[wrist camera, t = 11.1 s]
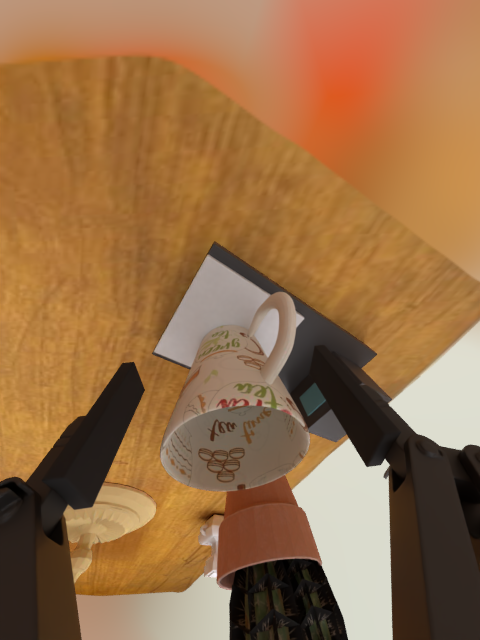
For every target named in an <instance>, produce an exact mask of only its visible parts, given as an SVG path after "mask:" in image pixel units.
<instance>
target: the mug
mask: <svg viewBox="0 0 480 640" xmlns="http://www.w3.org/2000/svg"><path fill="white" fill-rule="evenodd" d="M272 309H277V311H278V313H279V331H278V336H277V340H276V344H275V346H274V348H273V350H272V352H271V354H270V356H269V357H267V356H266V354H265V352H264V350H263V349H262V347H261V345H260V344H259V342H258V340H257V339H256V337H255V336H254V334H255V332H256V330H257V329H258V327H259V325H260V324H261V322H262V320H263V319H264V317H265V316H266V315H267V313H268V312H269V311H270V310H272ZM295 334H296V311H295V306H294V302H293V300H292V298H291V297H290V296H289V295H288V294H287V293H285V292H276V293H274V294H272V295H270V296H269V297H268V298H267V299H266V300H265V301H264V302H263V304H262V305H261V306H260V307H259V308H258V309H257V311H256V313H255V315H254V318H253V320H252V323H251V325H250V328H249V330H248V329H246V328H244V327H241V326H237V325H223V326H220V327H217V328H215V329H213V330H211V331H210V332H209V333H208V334H207V335H206V336H205V337H204V339H203V340H202V342H201V345H200V347H199V349H198V352H197V354H196V357H195V359H194V362H193V364H192V367H191V369H190V371H189V374H188V376H187V379H186V381H185V384H184V386H183V389H182V391H181V394H180V396H179V399H178V401H177V403H176V406H175V408H174V411H173V413H172V416H171V418H170V421H169V423H168V426H167V428H166V431H165V434H164V437H163V440H162V444H161V449H160V458H161V462H162V465H163V467H164V468H165V470H166V471H167V472H168V474H169V475H170V476H172V477H173V478H174V479H176V480H177V481H179V482H181V483H183V484H185V485H187V486H190V487H193V488H197V489H202V490H208V491H237V490H244V489H249V488H254V487H258V486H261V485H264V484H267V483H269V482H272V481H274V480H276V479H278V478H280V477H282V476H284V475H285V474H287V473H289V472H290V471H291V470H293V469H294V468H295V467H296V466H297V465H298V464H299V463H300V462H301V461H302V459H303V458H304V456H305V455H306V453H307V451H308V448H309V444H310V435H309V430H308V428H307V425H306V423H305V421H304V419H303V417H302V415H301V413H300V411H299V410H298V408H297V406H296V404H295V403H294V401H293V399H292V398H291V396H290V394H289V393H288V391H287V389H286V388H285V386H284V384H283V383H282V381H281V379H280V377H279V376H278V374H279V373H280V371H281V369H282V368H283V366H284V364H285V363H286V361H287V359H288V357H289V355H290V353H291V351H292V348H293V345H294V340H295Z"/></svg>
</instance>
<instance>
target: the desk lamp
mask: <svg viewBox="0 0 480 640" xmlns="http://www.w3.org/2000/svg"><path fill="white" fill-rule="evenodd" d="M155 512H156V503H155V501H154V500H153V498H152V497H150V496H149V495H148V494H146V493H145V492H143V491H140V490H137V489H135V488H132V487H128V486H124V485H120V484H114V483H105V482H103V485H102V487H101V489H100V491H99V494H98V496H97V498H96V500H95V503H94V505H93V507H91V508H84V509H78V510H74V509H73V508H72V507H70V506H69V505H68V506H67V508H66V510H65V512H64V513H63V514H64V516H65V518H66V526H67V534H68V541H71V542H72V543H75V542H78V545H77V547H76V549H75V550H74V551H72V552H70V556H71V564H72V571H73V579H74V583H75V582H76V580H77V579H78V577H79V576H80V574H82V573H83V572H85V571H86V570H87V568H88V567H89V565H90V564H91V562H92V550H90V549H91V546H92V544H96V543H98V542H100V543H103V542H105V541H107V542H109V541H111V540H115V539H117V538H120V537H121V536H123V535H124V534H126V533H129V532H132V531H134V530H136V529H138V528H140V527H142V526H144V525H145V524H146V523H147V522H149V521H150V520H151V519H152V518H153V517H154V515H155Z"/></svg>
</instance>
